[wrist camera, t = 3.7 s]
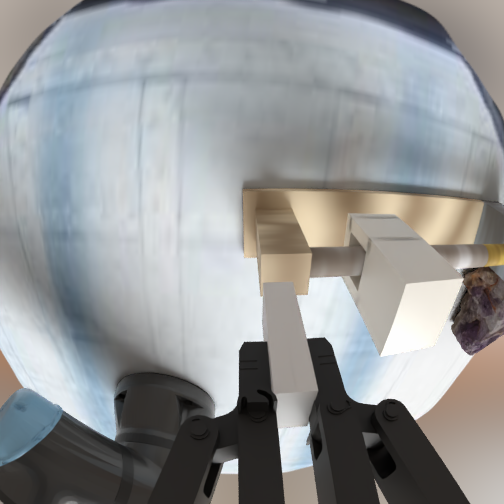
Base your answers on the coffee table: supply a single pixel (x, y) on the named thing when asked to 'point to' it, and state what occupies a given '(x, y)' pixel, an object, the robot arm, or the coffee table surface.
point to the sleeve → (399, 283)
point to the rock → (480, 311)
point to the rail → (334, 228)
